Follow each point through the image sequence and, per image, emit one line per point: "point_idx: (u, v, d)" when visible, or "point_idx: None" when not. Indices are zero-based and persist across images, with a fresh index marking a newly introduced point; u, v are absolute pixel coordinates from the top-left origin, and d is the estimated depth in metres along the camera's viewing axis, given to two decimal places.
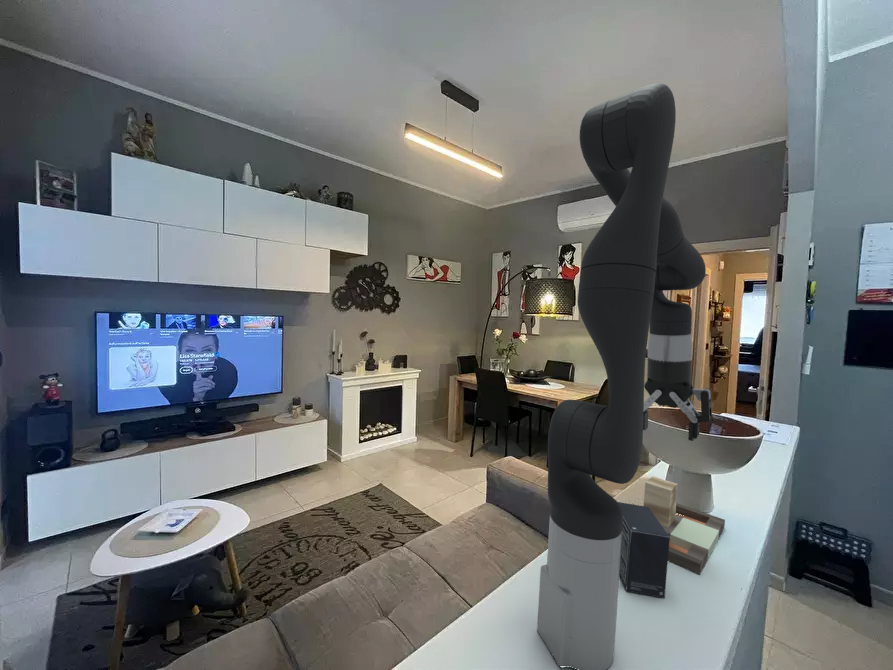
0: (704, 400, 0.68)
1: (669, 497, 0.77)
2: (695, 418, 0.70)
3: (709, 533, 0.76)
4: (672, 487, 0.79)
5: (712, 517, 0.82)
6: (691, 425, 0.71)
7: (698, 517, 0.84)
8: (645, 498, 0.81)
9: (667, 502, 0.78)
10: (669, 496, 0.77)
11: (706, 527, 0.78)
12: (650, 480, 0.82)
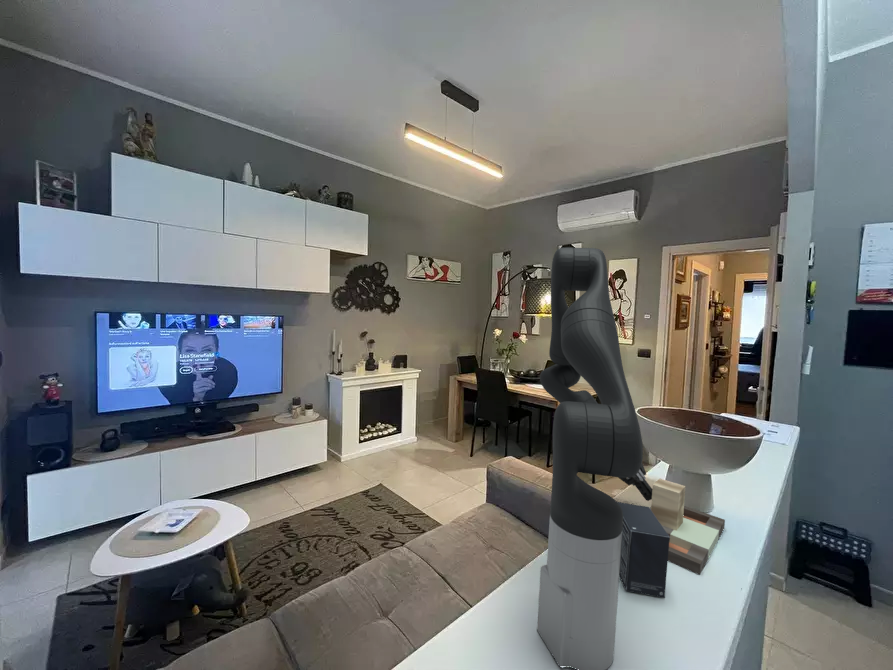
0: None
1: (677, 500, 0.76)
2: (642, 474, 0.84)
3: (709, 533, 0.76)
4: (680, 489, 0.78)
5: (712, 517, 0.82)
6: (646, 482, 0.83)
7: (698, 517, 0.84)
8: (652, 501, 0.80)
9: (675, 505, 0.77)
10: (677, 499, 0.76)
11: (706, 527, 0.78)
12: (657, 482, 0.81)
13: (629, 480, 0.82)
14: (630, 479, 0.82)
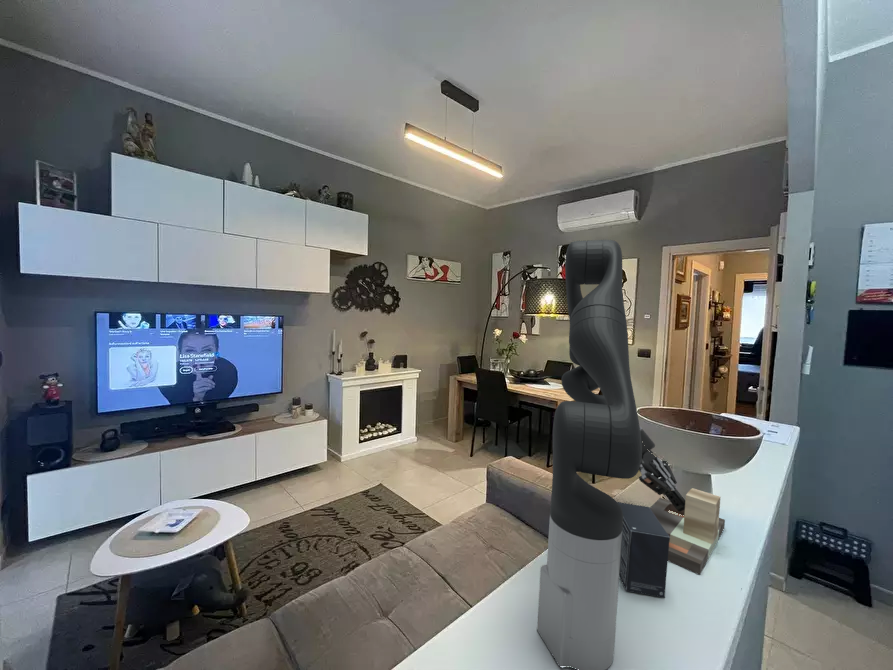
0: (668, 466, 0.84)
1: (713, 511, 0.72)
2: (673, 483, 0.80)
3: None
4: (716, 500, 0.73)
5: None
6: (677, 491, 0.79)
7: None
8: (686, 512, 0.75)
9: (711, 517, 0.72)
10: (713, 510, 0.72)
11: None
12: (690, 492, 0.76)
13: (660, 489, 0.78)
14: (661, 488, 0.78)
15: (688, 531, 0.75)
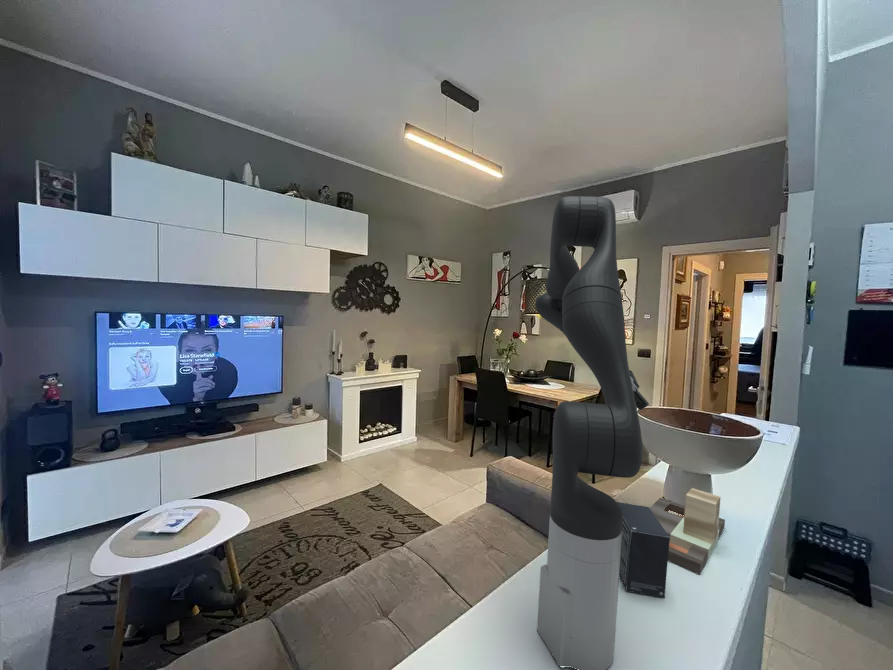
0: (632, 375, 0.90)
1: (713, 511, 0.72)
2: (635, 386, 0.86)
3: None
4: (716, 500, 0.73)
5: None
6: (639, 392, 0.84)
7: None
8: (686, 512, 0.75)
9: (711, 517, 0.72)
10: (713, 510, 0.72)
11: None
12: (690, 492, 0.76)
13: None
14: None
15: (688, 531, 0.75)
